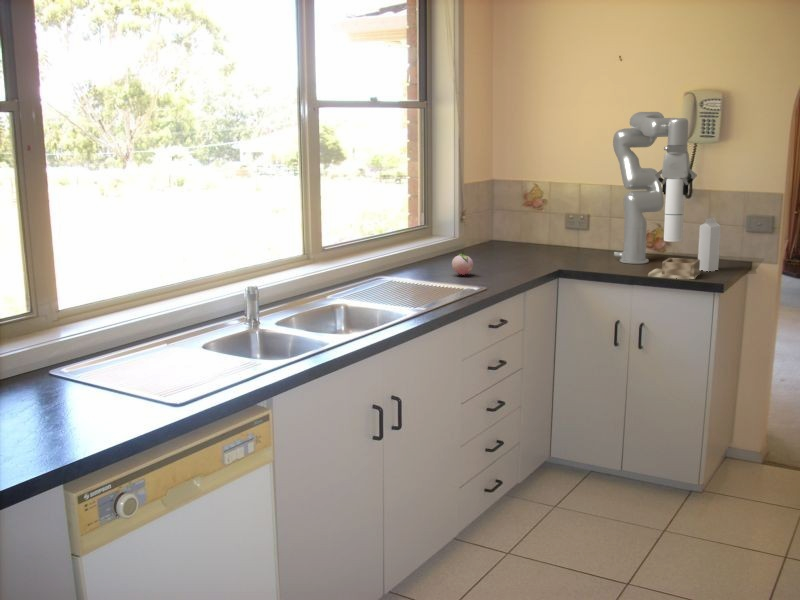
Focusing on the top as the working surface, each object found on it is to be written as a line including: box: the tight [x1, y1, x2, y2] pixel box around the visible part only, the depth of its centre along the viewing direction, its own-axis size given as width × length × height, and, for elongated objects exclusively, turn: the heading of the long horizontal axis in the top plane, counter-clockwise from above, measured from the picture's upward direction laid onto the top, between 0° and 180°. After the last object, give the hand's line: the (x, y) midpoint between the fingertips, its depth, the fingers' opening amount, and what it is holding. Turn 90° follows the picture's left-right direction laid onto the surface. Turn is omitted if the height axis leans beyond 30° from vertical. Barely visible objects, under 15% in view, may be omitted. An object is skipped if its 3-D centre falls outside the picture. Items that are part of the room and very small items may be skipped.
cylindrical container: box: [663, 178, 685, 243], centre depth 346 cm, size 7×7×25 cm
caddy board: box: [647, 257, 701, 280], centre depth 351 cm, size 18×13×6 cm
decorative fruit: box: [451, 251, 474, 276], centre depth 356 cm, size 9×8×10 cm
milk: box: [697, 217, 722, 273], centre depth 360 cm, size 6×6×22 cm
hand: (675, 194), depth 345 cm, fingers closed on cylindrical container, 7 cm apart
